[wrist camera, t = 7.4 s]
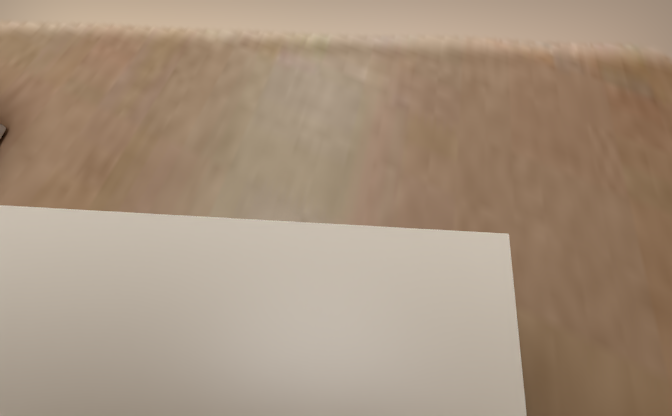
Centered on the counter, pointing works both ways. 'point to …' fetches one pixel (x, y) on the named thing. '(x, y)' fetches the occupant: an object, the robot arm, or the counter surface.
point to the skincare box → (2, 130)
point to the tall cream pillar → (252, 318)
